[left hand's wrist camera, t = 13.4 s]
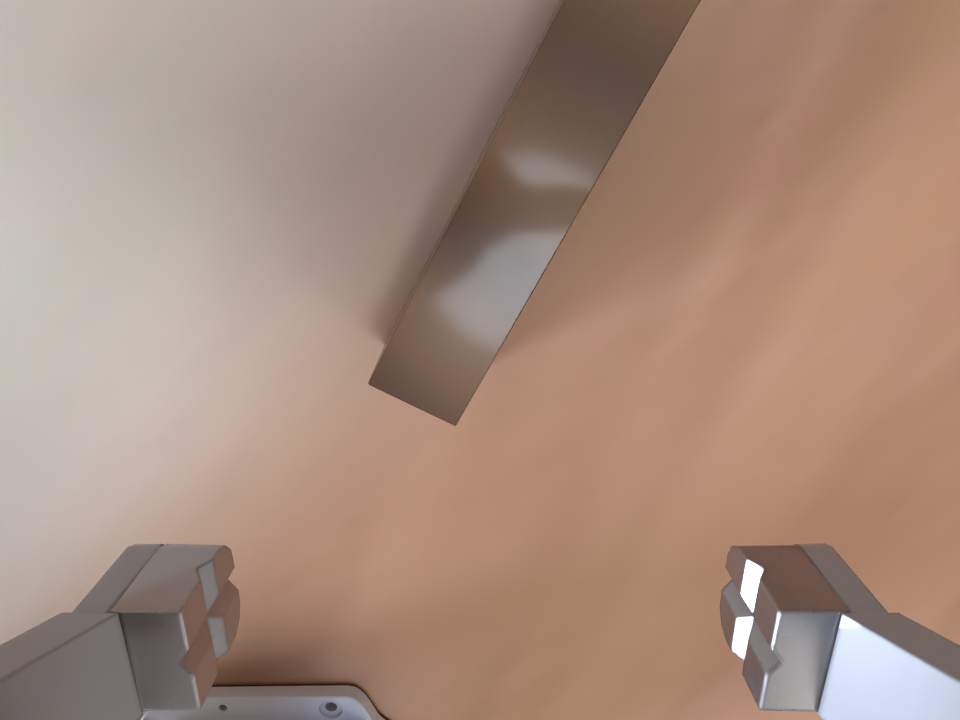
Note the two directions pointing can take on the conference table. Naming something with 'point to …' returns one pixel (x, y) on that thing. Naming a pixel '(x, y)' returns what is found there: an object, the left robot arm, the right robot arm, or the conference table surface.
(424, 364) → the bar
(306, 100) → the conference table surface
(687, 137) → the conference table surface
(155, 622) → the left robot arm
